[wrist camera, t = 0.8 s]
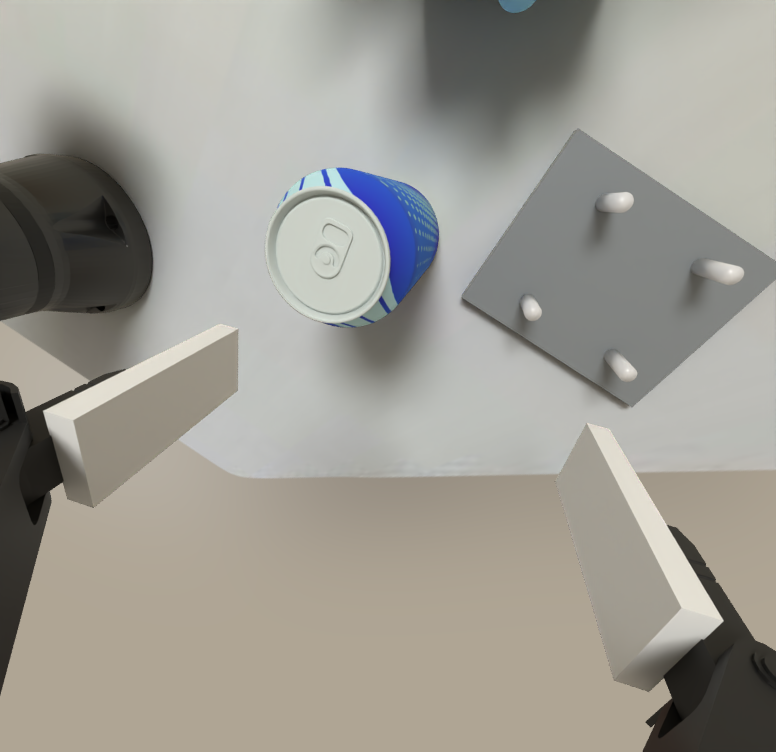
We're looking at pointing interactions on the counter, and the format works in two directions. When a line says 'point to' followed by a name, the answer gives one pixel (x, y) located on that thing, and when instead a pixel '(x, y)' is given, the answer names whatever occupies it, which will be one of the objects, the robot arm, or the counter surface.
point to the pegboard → (615, 272)
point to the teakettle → (516, 5)
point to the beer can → (349, 245)
